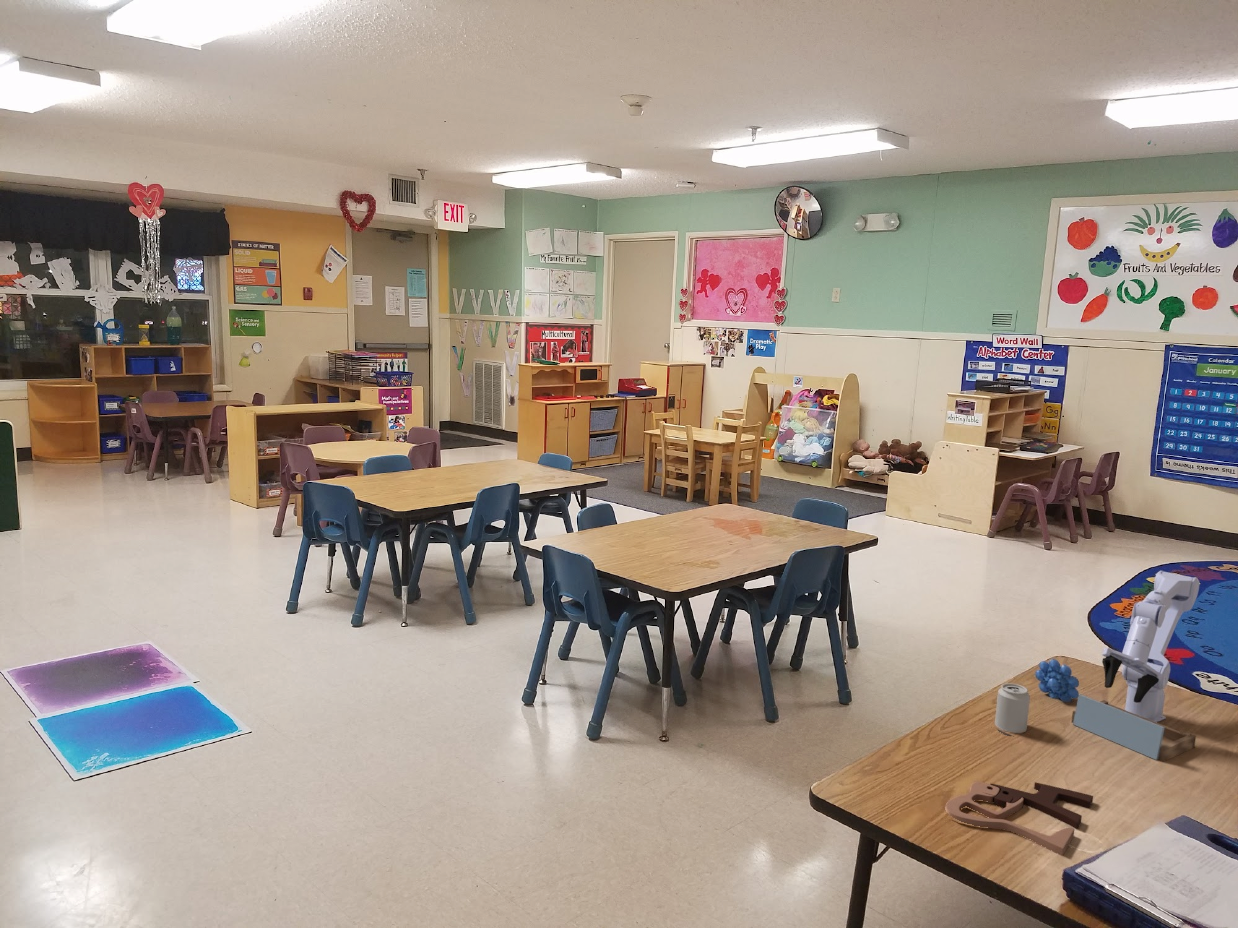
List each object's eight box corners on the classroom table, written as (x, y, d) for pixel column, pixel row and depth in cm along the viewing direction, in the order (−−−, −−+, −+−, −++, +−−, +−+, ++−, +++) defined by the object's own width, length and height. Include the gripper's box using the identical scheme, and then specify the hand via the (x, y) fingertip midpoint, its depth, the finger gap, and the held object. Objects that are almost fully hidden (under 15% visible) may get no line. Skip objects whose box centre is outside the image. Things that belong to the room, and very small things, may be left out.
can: (1020, 725, 234) (1024, 682, 232) (1030, 739, 227) (1035, 694, 224) (990, 723, 235) (994, 680, 233) (999, 737, 227) (1004, 692, 225)
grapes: (1027, 699, 250) (1031, 658, 248) (1035, 692, 255) (1040, 652, 252) (1072, 713, 242) (1076, 671, 240) (1080, 705, 247) (1084, 664, 245)
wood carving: (1092, 804, 198) (982, 768, 213) (1093, 795, 198) (983, 760, 212) (1059, 863, 177) (939, 818, 191) (1060, 853, 176) (940, 809, 191)
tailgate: (1074, 723, 232) (1080, 694, 231) (1157, 759, 214) (1164, 727, 214) (1072, 724, 232) (1078, 694, 231) (1156, 759, 214) (1162, 727, 213)
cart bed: (1102, 715, 241) (1104, 699, 240) (1193, 752, 221) (1196, 735, 220) (1070, 727, 233) (1072, 711, 233) (1162, 766, 214) (1164, 749, 213)
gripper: (1119, 629, 226) (1103, 678, 222) (1175, 657, 224) (1159, 707, 220) (1104, 633, 233) (1088, 681, 228) (1158, 660, 231) (1143, 709, 227)
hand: (1122, 694), depth 225 cm, fingers open, 7 cm apart
